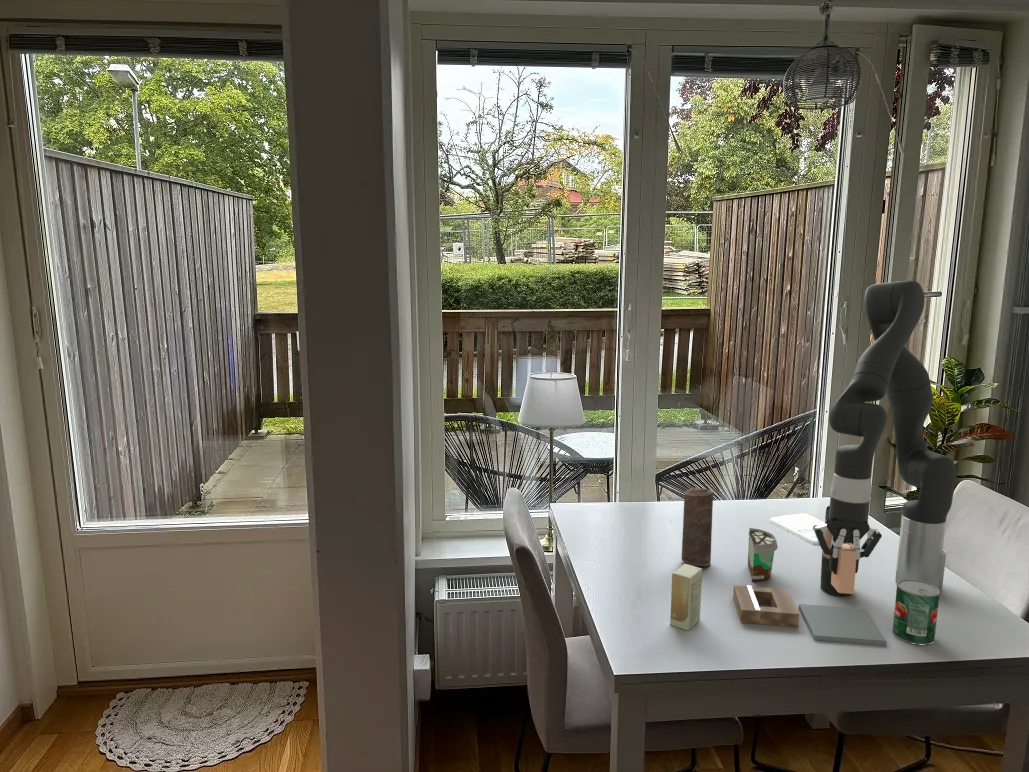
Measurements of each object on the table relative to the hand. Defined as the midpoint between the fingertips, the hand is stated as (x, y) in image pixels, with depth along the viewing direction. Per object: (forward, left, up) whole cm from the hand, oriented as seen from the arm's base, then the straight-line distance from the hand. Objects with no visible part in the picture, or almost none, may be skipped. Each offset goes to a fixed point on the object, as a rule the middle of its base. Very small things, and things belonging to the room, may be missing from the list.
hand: (842, 573), depth 154 cm
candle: (+28, -28, -12) cm, 41 cm away
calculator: (-7, -58, -13) cm, 60 cm away
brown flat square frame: (+15, -4, -12) cm, 19 cm away
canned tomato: (-14, +2, -12) cm, 19 cm away
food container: (+12, -24, -12) cm, 29 cm away
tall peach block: (0, +1, -3) cm, 3 cm away
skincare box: (+33, +4, -12) cm, 35 cm away
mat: (0, 0, -12) cm, 12 cm away
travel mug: (-4, -18, -12) cm, 22 cm away
